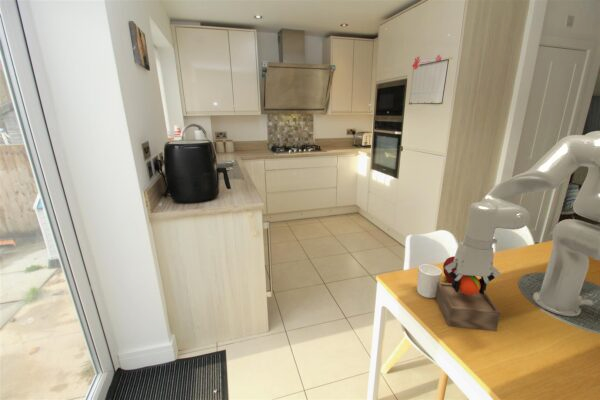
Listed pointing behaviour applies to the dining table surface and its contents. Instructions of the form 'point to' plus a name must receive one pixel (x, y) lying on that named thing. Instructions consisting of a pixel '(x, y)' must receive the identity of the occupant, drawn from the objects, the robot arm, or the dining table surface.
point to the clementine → (469, 285)
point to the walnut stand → (466, 308)
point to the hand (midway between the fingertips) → (467, 290)
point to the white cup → (428, 280)
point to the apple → (446, 270)
